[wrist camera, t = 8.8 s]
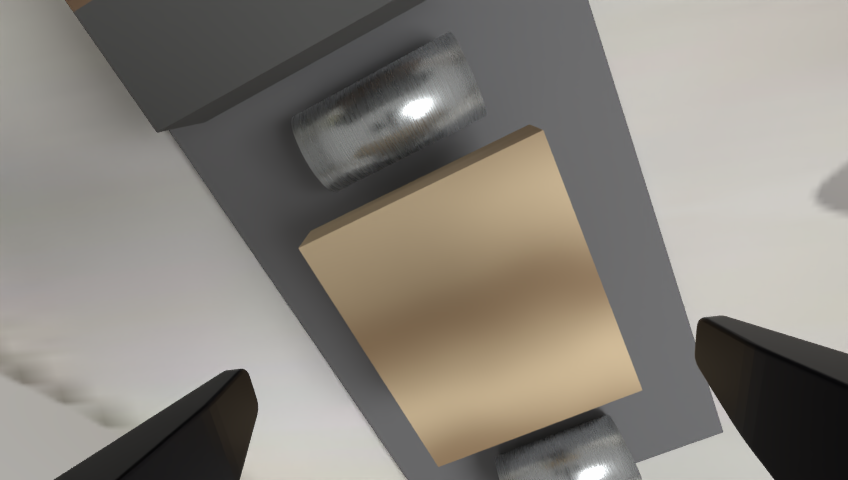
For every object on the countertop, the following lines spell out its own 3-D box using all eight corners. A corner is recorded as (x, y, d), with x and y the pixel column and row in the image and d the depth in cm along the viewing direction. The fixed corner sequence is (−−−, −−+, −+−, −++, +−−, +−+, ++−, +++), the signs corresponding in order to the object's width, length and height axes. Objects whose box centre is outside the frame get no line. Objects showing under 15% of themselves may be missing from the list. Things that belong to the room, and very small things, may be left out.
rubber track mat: (718, 426, 23) (723, 432, 22) (442, 524, 25) (442, 531, 25) (498, -270, 13) (500, -280, 13) (82, -6, 15) (74, -8, 15)
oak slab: (622, 362, 17) (642, 390, 15) (436, 434, 18) (438, 467, 16) (529, 124, 14) (543, 130, 12) (310, 230, 15) (298, 248, 13)
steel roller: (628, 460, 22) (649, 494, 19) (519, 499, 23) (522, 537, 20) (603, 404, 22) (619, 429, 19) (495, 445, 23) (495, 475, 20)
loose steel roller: (478, 109, 17) (493, 123, 14) (343, 178, 18) (332, 203, 15) (445, 31, 15) (454, 30, 13) (302, 110, 16) (282, 124, 14)
